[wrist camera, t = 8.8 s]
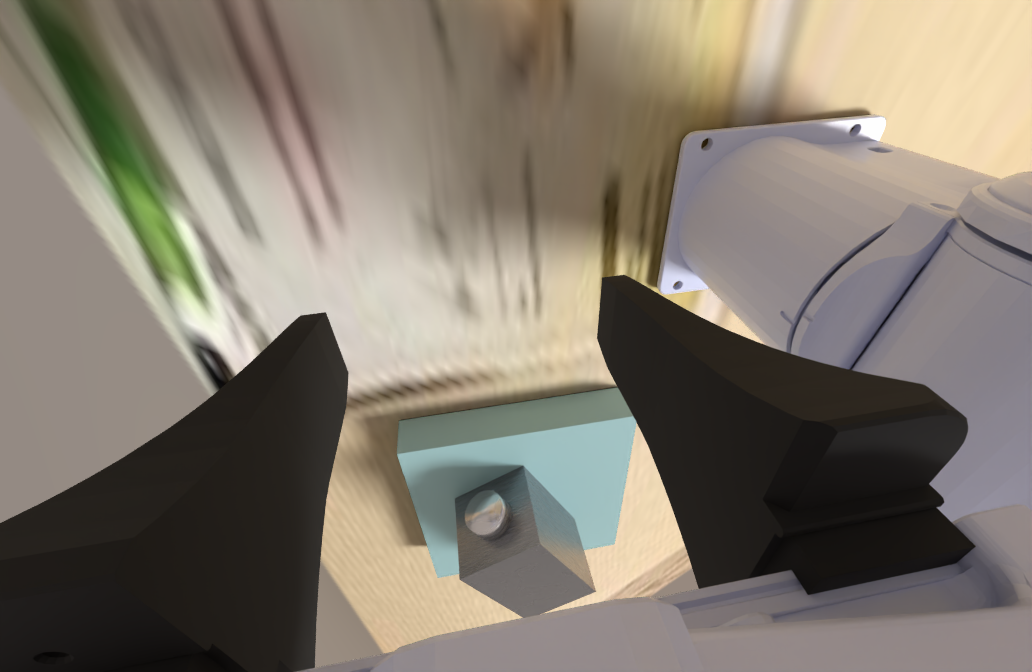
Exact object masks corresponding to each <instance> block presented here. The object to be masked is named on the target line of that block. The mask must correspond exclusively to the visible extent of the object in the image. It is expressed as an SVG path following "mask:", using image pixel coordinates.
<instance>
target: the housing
mask: <svg viewBox="0 0 1032 672" xmlns="http://www.w3.org/2000/svg"><path fill="white" fill-rule="evenodd" d="M455 511H456V528H457V544H458V560H459V576H460V580H461V581H463V582H465V583H466V584H468V585H470V586H471V587H473V588H475V589H476V590H478V591H480V592H481V593H483V594H485V595H486V596H488V597H490V598H491V599H493V600H495V601H496V602H498V603H500V604H501V605H503V606H505V607H506V608H508V609H510V610H511V611H513V612H515V613H516V614H518V615H520V616H521V617H523V618H526V617H530V616H535V615H540V614H542V613H545V612H547V611H550V610H552V609H554V608H557V607H559V606H562V605H564V604H567V603H569V602H572V601H574V600H576V599H579V598H581V597H584V596H586V595H589V594H591V593H594V592H596V590H595V587H594V584H593V580H592V577H591V573H590V570H589V566H588V563H587V560H586V556H585V553H584V549H583V546H582V542H581V539H580V535H579V532H578V529H577V525H576V522H575V519H574V518H573V516H572V515H571V514H570V513H569V512H568V511H567V510H566V509H565V508H564V507H563V506H562V505H561V504H560V503H559V502H558V501H557V500H556V499H555V498H554V497H553V496H552V495H551V494H550V493H549V492H548V490H547V489H546V488H545V487H544V486H543V485H542V484H541V483H540V482H539V481H538V480H537V479H536V478H535V477H534V476H533V475H532V474H531V473H530V472H529V471H528V470H527V469H526V468H525V467H524V465H523V466H521V467H519V468H517V469H515V470H513V471H511V472H509V473H507V474H504V475H502V476H500V477H498V478H496V479H494V480H492V481H490V482H488V483H486V484H484V485H481V486H479V487H477V488H475V489H473V490H471V491H469V492H467V493H465V494H463V495H461V496H459V497H456V498H455Z"/></svg>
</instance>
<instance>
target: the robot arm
mask: <svg viewBox="0 0 1032 672" xmlns="http://www.w3.org/2000/svg"><path fill="white" fill-rule="evenodd" d="M885 125H886V119H885V118H884V117H883V116H880V115H864V116H853V117H842V118H831V119H820V120H810V121H799V122H788V123H777V124H766V125H756V126H745V127H734V128H723V129H712V130H702V131H693V132H690V133H689V134H687V135H686V136H685V138H684V139H683V141H682V144H681V149H680V154H679V160H678V166H677V172H676V178H675V183H674V189H673V195H672V201H671V206H670V212H669V218H668V224H667V230H666V235H665V241H664V247H663V253H662V258H661V264H660V270H659V276H658V282H657V288H658V290H659V291H660V292H661V293H662V294H673V293H680V292H688V291H696V290H703V289H711V290H712V291H713V292H714V293H715V294H716V295H717V296H718V297H719V298H720V299H721V300H722V301H723V302H724V303H725V304H726V305H727V306H728V307H729V308H730V309H731V310H732V311H733V312H734V314H735V315H736V316H737V317H738V318H739V319H740V320H741V321H742V322H743V323H744V324H745V325H746V326H747V327H748V328H749V329H750V330H751V331H752V332H753V333H754V334H755V335H756V336H757V337H758V338H759V339H760V340H761V341H762V342H763V343H764V344H765V345H764V344H761V343H758V342H756V341H753V340H751V339H748V338H746V337H743V336H741V335H738V334H736V333H733V332H731V331H729V330H726V329H724V328H722V327H720V326H718V325H716V324H713V323H711V322H709V321H707V320H705V319H703V318H701V317H699V316H697V315H695V314H694V313H692V312H690V311H688V310H686V309H684V308H682V307H681V306H679V305H677V304H675V303H673V302H672V301H670V300H668V299H666V298H665V297H663V296H661V295H659V294H658V293H656V292H654V291H653V290H651V289H649V288H648V287H646V286H644V285H642V284H641V283H639V282H637V281H635V280H633V279H632V278H630V277H628V276H625V275H620V276H612V277H604V278H602V287H601V299H600V311H599V323H598V334H597V339H598V342H599V345H600V348H601V351H602V354H603V357H604V359H605V362H606V365H607V367H608V369H609V371H610V373H611V375H612V377H613V379H614V381H615V383H616V385H617V387H618V389H619V391H620V392H621V394H622V396H623V398H624V400H625V402H626V404H627V405H628V407H629V409H630V411H631V413H632V415H633V417H634V419H635V420H636V422H637V424H638V426H639V428H640V430H641V432H642V434H643V436H644V438H645V440H646V442H647V444H648V446H649V449H650V451H651V454H652V456H653V459H654V461H655V464H656V467H657V469H658V472H659V474H660V477H661V479H662V482H663V485H664V487H665V490H666V493H667V495H668V498H669V501H670V503H671V506H672V509H673V512H674V514H675V517H676V520H677V523H678V526H679V529H680V532H681V535H682V538H683V541H684V544H685V547H686V550H687V553H688V556H689V559H690V562H691V565H692V569H693V572H694V575H695V578H696V581H697V584H698V587H699V589H696V590H691V591H686V592H682V593H676V594H672V595H667V596H662V597H657V598H650V597H637V598H625V599H614V600H609V601H604V602H599V603H594V604H589V605H584V606H579V607H575V608H570V609H565V610H560V611H555V612H550V613H545V614H540V615H535V616H530V617H526V618H521V619H516V620H511V621H506V622H501V623H496V624H491V625H486V626H481V627H476V628H472V629H467V630H462V631H457V632H452V633H447V634H442V635H437V636H434V637H430V638H427V639H424V640H421V641H418V642H415V643H412V644H408V645H405V646H402V647H399V648H398V649H397V650H395V651H394V652H389V653H384V654H380V655H375V656H370V657H365V658H360V659H356V660H351V661H346V662H341V663H336V664H331V665H326V666H321V667H317V668H315V643H316V641H315V640H316V616H317V600H318V583H319V582H318V581H319V568H320V557H321V545H322V534H323V525H324V516H325V506H326V498H327V492H328V487H329V481H330V477H331V473H332V468H333V464H334V459H335V455H336V450H337V446H338V442H339V437H340V433H341V428H342V424H343V419H344V414H345V409H346V402H347V389H348V371H347V368H346V365H345V363H344V360H343V357H342V355H341V352H340V349H339V347H338V344H337V341H336V338H335V336H334V333H333V330H332V328H331V325H330V322H329V320H328V317H327V314H326V313H318V314H310V315H302V316H300V317H299V318H297V319H296V320H295V321H294V322H293V323H292V324H291V325H289V326H288V327H287V328H286V329H285V330H284V331H283V332H282V333H281V334H280V335H279V336H278V337H277V338H276V339H275V340H274V341H273V342H272V343H271V344H270V345H269V346H268V347H267V348H265V349H264V350H263V351H262V352H261V353H260V354H259V355H258V356H257V357H256V358H255V359H254V360H253V361H252V362H251V363H250V364H249V365H247V366H246V367H245V368H244V369H243V370H242V371H241V372H239V373H238V374H237V375H236V376H235V377H234V378H233V379H231V380H230V381H229V382H228V383H227V384H226V385H224V386H223V387H222V388H221V389H220V390H219V391H218V392H216V393H215V394H214V395H213V396H212V397H210V398H209V399H208V400H207V401H205V402H204V403H203V404H201V405H200V406H199V407H197V408H196V409H195V410H193V411H192V412H191V413H189V414H188V415H187V416H185V417H184V418H183V419H181V420H180V421H178V422H177V423H176V424H174V425H173V426H171V427H170V428H168V429H167V430H166V431H164V432H162V433H161V434H160V435H158V436H156V437H155V438H153V439H152V440H150V441H148V442H147V443H145V444H144V445H142V446H141V447H139V448H137V449H136V450H134V451H133V452H131V453H130V454H128V455H127V456H125V457H124V458H122V459H120V460H119V461H117V462H115V463H113V464H112V465H110V466H108V467H107V468H105V469H103V470H101V471H100V472H98V473H96V474H95V475H93V476H91V477H89V478H88V479H86V480H84V481H82V482H80V483H78V484H77V485H74V486H73V487H71V488H69V489H67V490H65V491H64V492H62V493H60V494H58V495H56V496H54V497H52V498H50V499H48V500H46V501H44V502H43V503H41V504H39V505H37V506H35V507H32V508H30V509H28V510H26V511H24V512H22V513H20V514H18V515H16V516H14V517H12V518H10V519H8V520H6V521H4V522H2V523H0V672H1032V172H1022V173H1017V174H1014V175H1011V176H1009V177H1006V178H1003V179H999V178H996V177H993V176H989V175H986V174H983V173H980V172H977V171H973V170H970V169H967V168H964V167H960V166H957V165H954V164H951V163H947V162H944V161H941V160H938V159H934V158H931V157H928V156H925V155H921V154H918V153H915V152H912V151H909V150H905V149H902V148H899V147H896V146H892V145H889V144H886V143H883V142H879V140H880V138H881V135H882V133H883V131H884V128H885ZM853 126H854V129H853V130H852V132H850V130H851V128H852V127H853ZM707 138H708V144H707V145H706V146H705V147H704V148H702V149H701V144H702V142H703V141H704V140H705V139H707ZM678 281H679V283H678V284H677V285H675V286H673V285H674V284H675V283H676V282H678Z"/></svg>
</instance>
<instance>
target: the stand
mask: <svg viewBox="0 0 1032 672" xmlns="http://www.w3.org/2000/svg"><path fill="white" fill-rule="evenodd" d="M635 428H636V420H635V419H634V417H633V415H632V413H631V411H630V409H629V407H628V405H627V404H626V402H625V400H624V398H623V396H622V394H621V392H620V391H619V389H618V387H616V388H610V389H603V390H597V391H590V392H584V393H577V394H571V395H564V396H557V397H551V398H544V399H538V400H531V401H525V402H518V403H512V404H505V405H499V406H492V407H485V408H479V409H472V410H466V411H459V412H453V413H446V414H440V415H433V416H427V417H420V418H413V419H407V420H400V421H399V426H398V443H397V456H398V459H399V462H400V465H401V468H402V471H403V474H404V477H405V480H406V483H407V486H408V489H409V492H410V495H411V498H412V501H413V504H414V507H415V510H416V513H417V516H418V519H419V523H420V526H421V529H422V532H423V535H424V538H425V541H426V544H427V547H428V550H429V553H430V556H431V559H432V562H433V565H434V568H435V571H436V574H437V577H438V578H440V577H445V576H450V575H456V574H459V560H458V544H457V528H456V511H455V498H456V497H459V496H461V495H463V494H465V493H467V492H469V491H471V490H473V489H475V488H477V487H479V486H481V485H484V484H486V483H488V482H490V481H492V480H494V479H496V478H498V477H500V476H502V475H504V474H507V473H509V472H511V471H513V470H515V469H517V468H519V467H521V466H523V465H524V467H525V468H526V469H527V470H528V471H529V472H530V473H531V474H532V475H533V476H534V477H535V478H536V479H537V480H538V481H539V482H540V483H541V484H542V485H543V486H544V487H545V488H546V489H547V490H548V492H549V493H550V494H551V495H552V496H553V497H554V498H555V499H556V500H557V501H558V502H559V503H560V504H561V505H562V506H563V507H564V508H565V509H566V510H567V511H568V512H569V513H570V514H571V515H572V516H573V518H574V519H575V522H576V525H577V529H578V532H579V535H580V539H581V542H582V546H583V549H584V550H587V549H592V548H597V547H603V546H608V545H613V544H615V539H616V533H617V528H618V522H619V517H620V511H621V505H622V500H623V494H624V489H625V483H626V478H627V472H628V466H629V461H630V455H631V450H632V444H633V439H634V433H635Z"/></svg>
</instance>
